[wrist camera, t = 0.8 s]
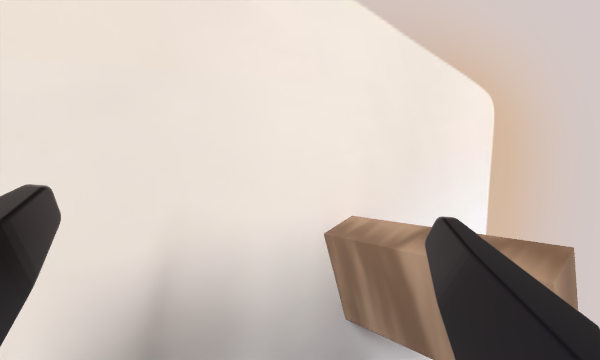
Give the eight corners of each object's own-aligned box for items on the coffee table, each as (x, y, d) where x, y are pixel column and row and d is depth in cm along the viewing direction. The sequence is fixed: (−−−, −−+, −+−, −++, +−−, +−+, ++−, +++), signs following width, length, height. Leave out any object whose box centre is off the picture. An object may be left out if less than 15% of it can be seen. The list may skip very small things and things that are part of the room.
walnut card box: (345, 319, 29) (565, 420, 17) (323, 233, 27) (553, 283, 15) (371, 296, 31) (582, 373, 19) (352, 215, 29) (573, 247, 17)
